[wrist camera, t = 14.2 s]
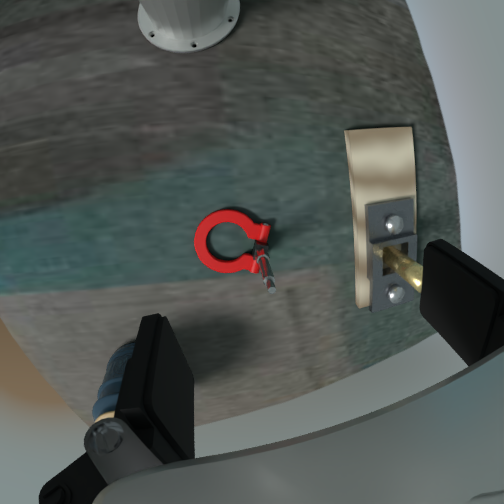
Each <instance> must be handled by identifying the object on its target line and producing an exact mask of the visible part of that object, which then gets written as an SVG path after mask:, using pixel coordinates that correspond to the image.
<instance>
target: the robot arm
mask: <svg viewBox="0 0 504 504" xmlns="http://www.w3.org/2000/svg"><path fill="white" fill-rule="evenodd" d="M139 1H140V5H139V9H138V23H139V27H140V29H141V31H142V33H143V35H144V36H145V37H146V39H147V40H148V41H150V42H151V43H152V44H153V45H155V46H156V47H158V48H160V49H163V50H165V51H168V52H174V53H192V52H198V51H201V50H205V49H208V48H210V47H212V46H214V45H216V44H217V43H219V42H220V41H222V40H223V39H224V38H225V37H226V36H227V35H228V34H229V33H230V32H231V31H232V29H233V28H234V26H235V25H236V22H237V20H238V17H239V13H240V1H239V0H139ZM229 20H232V22H228V21H229ZM152 35H155V36H154V37H151V36H152ZM193 45H196V47H195V48H193V47H192V46H193ZM420 312H421V314H422V316H423V317H424V318H425V319H426V320H427V321H428V322H429V323H430V324H431V326H432V327H433V328H434V329H435V330H436V331H437V332H438V333H439V334H440V335H441V336H442V337H443V338H444V339H445V340H446V342H447V343H448V344H449V345H450V346H451V347H452V348H453V349H454V350H455V352H456V353H457V354H458V355H459V356H460V357H461V358H462V359H463V360H464V362H465V363H466V364H467V365H468V366H469V367H467V368H465V369H464V370H462V371H460V372H458V373H456V374H455V375H453V376H451V377H449V378H447V379H445V380H443V381H441V382H439V383H437V384H435V385H433V386H431V387H429V388H427V389H425V390H423V391H421V392H418V393H416V394H414V395H412V396H410V397H407V398H405V399H403V400H401V401H398V402H396V403H394V404H392V405H389V406H387V407H384V408H381V409H379V410H376V411H374V412H371V413H369V414H366V415H363V416H361V417H358V418H355V419H353V420H350V421H347V422H344V423H341V424H338V425H335V426H332V427H329V428H326V429H322V430H319V431H316V432H312V433H309V434H306V435H302V436H299V437H295V438H291V439H287V440H284V441H279V442H275V443H271V444H266V445H262V446H258V447H253V448H249V449H244V450H240V451H234V452H229V453H223V454H218V455H212V456H206V457H200V458H195V452H194V451H195V449H194V379H193V375H192V372H191V370H190V368H189V366H188V363H187V361H186V359H185V357H184V355H183V353H182V350H181V348H180V346H179V344H178V342H177V339H176V337H175V335H174V332H173V330H172V328H171V326H170V323H169V321H168V319H167V317H166V316H164V317H161V315H160V314H159V313H157V314H153V315H148V316H144V317H142V320H141V323H140V327H139V331H138V334H137V338H136V342H135V346H134V350H133V354H132V358H129V359H128V360H127V363H126V367H125V370H124V374H123V378H122V383H121V387H120V391H119V395H118V399H117V404H116V408H115V413H114V417H108V418H104V419H101V420H99V421H97V422H95V423H94V424H93V425H92V426H91V427H90V428H89V429H88V431H87V432H86V434H85V437H84V447H85V450H86V453H85V454H83V455H82V456H81V457H79V458H78V459H77V460H75V461H74V462H73V463H72V464H70V465H69V466H68V467H67V468H65V469H64V470H63V471H61V472H60V473H59V474H57V475H56V476H55V477H53V478H52V479H51V480H49V481H48V482H47V483H46V484H45V485H44V486H43V487H42V489H41V491H40V494H39V504H504V279H502V278H501V277H499V276H498V275H496V274H495V273H493V272H492V271H491V270H489V269H488V268H486V267H485V266H483V265H482V264H480V263H479V262H477V261H476V260H474V259H473V258H471V257H470V256H468V255H467V254H465V253H464V252H462V251H461V250H459V249H457V248H456V247H454V246H453V245H451V244H450V243H448V242H446V241H445V240H443V239H438V240H435V241H432V242H429V243H428V244H427V246H426V248H425V249H424V257H423V275H422V288H421V299H420Z"/></svg>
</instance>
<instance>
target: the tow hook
mask: <svg viewBox="0 0 504 504" xmlns="http://www.w3.org/2000/svg"><path fill="white" fill-rule="evenodd" d="M222 222H232V223H235V224H238V225H239V226H241V227H242V228H243V229H244V230H245V232H246V233H247V236H248V237H249V238H251V239H256V240H255V243H254V247H253V251H252V254H248V253H244V254H242V256H240V257H239V258H237V259H234V260H230V261H224V260H220V259H217V258H216V257H214V256H213V255H212V254H211V253H210V252H209V250H208V248H207V244H206V238H207V235H208V232H209V231H210V230H211V229H212V227H214V226H215V225H217V224H219V223H222ZM270 228H271V225H269V224H267V223H260V224H257V223H254V222H253V221H252V219H250V218H249V217H248V216H247V215H246V214H244V213H242V212H239V211H237V210H231V209H224V210H218V211H215V212H213V213H211V214H209V215H208V216H207V217H205V218H204V219H203V220H202V222H201V223H200V224H199V226H198V228H197V230H196V233H195V239H194V244H195V250H196V253H197V255H198V257H199V259H200V260H201V261H202V262H203V264H205V265H206V266H207V267H209V268H210V269H212V270H215V271H217V272H222V273H232V272H237V271H240V270H243V269H246V270H249V271H250V272H252V273H259V269H260V270H261V274H262V278H263V282H264V284H265V285H266V286H267V289H268V292H269V293H270V294H274V293H275V292H276V288H275V285H274V283H275V278H274V275H273V272H272V269H271V266H270V264H269V260H270V257H269V255H268V249H269V246H268V243H267V239H268V235H269V232H270Z"/></svg>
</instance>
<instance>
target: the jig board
mask: <svg viewBox="0 0 504 504" xmlns="http://www.w3.org/2000/svg"><path fill="white" fill-rule="evenodd" d="M344 132H345V140H346V148H347V157H348V166H349V176H350V186H351V198H352V212H353V227H354V247H355V280H356V305H357V306H358V307H359V308H362V307H366V306H369V295H370V281H369V280H368V279H367V255H366V225H365V206H364V205H366V204H372V203H377V202H383V201H389V200H395V199H401V198H408V197H411V198H413V199H414V233H416V177H415V159H414V146H413V135H412V127H387V128H370V129H356V130H344ZM393 246H394V247H396V248H397V249H399V250H400V251H401V244H396V245H393ZM383 248H384V247H383ZM388 267H389V266H388V265H386V264H385V263H384V262H383V269H385V268H388Z"/></svg>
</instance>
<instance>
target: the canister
mask: <svg viewBox="0 0 504 504" xmlns="http://www.w3.org/2000/svg"><path fill="white" fill-rule="evenodd" d="M134 346H135V343H130V344H126V345H124V346H122V347H120V348H119V349H117V350H116V351H115V353H114V354H113V355H112V356H111V358H110V360H109V362H108V365H107V369H106V374H105V377H104V380H103V383H102V385H101V386H100V388H99V390H98V396H97V397H98V400H97V401H96V403H95V404H94V406H93V410H92V414H93V418H94V421H95V422H97V421H99V420H101V419H104V418H108V417H114V413H115V408H116V404H117V399H118V395H119V391H120V387H121V383H122V378H123V374H124V370H125V367H126V363H127V360H128V359H129V358H132V354H133V350H134Z"/></svg>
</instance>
